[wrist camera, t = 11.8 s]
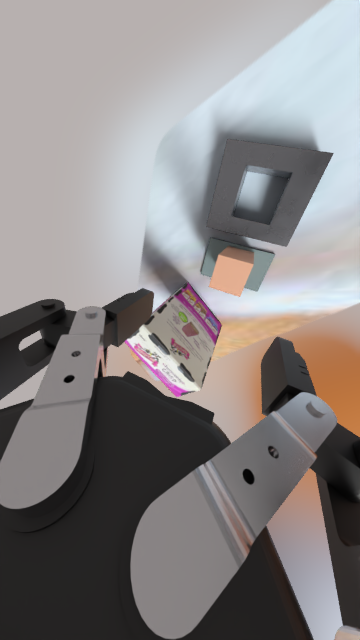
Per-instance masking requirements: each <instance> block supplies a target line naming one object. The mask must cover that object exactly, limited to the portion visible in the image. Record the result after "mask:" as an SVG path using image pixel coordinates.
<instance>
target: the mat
mask: <svg viewBox="0 0 360 640" xmlns="http://www.w3.org/2000/svg"><path fill="white" fill-rule="evenodd" d="M228 246H231V247H235V248H239V249H243V250H246V251H250V252H254V265H253V267H252V270H251V272H250V274H249V277H248V279H247V281H246V284H245V286H244V288H247V289H251V290H254V291H258V289H259V287H260V285H261V283H262V281H263V279H264V277H265V275H266V273H267V270H268V268H269V266H270V264H271V262H272V260H273V258H274V256H275V254H272V253H268V252H264V251H261V250H257V249H253V248H249V247H245V246H241V245H238V244H234V243H230V242H226V241H222V240H218V239H215V238H210V241H209V245H208V249H207V252H206V256H205V260H204V264H203V268H202V272H201V274H202V275H206V276H209V277H212V275H213V271H214V268H215V265H216V261H217V258H218V255H219V254H220V253H221V252H222V251H223V250H224V249H225V248H227V247H228Z"/></svg>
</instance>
